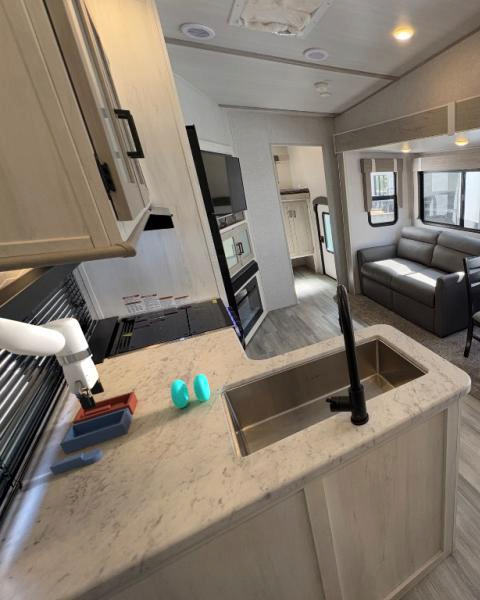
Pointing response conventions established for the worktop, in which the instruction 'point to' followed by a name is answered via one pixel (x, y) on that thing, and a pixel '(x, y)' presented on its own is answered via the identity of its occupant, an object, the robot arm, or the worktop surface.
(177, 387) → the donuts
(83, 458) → the blue spoon
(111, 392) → the worktop surface
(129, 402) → the red bin
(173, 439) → the worktop surface
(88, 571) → the worktop surface
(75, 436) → the blue bin
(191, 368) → the worktop surface
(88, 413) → the red elongated piece
